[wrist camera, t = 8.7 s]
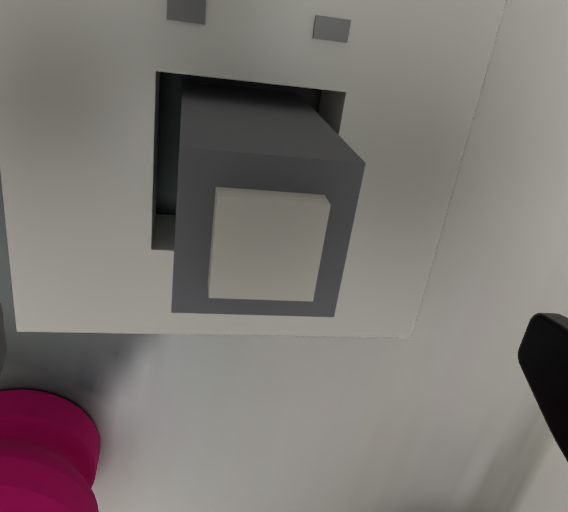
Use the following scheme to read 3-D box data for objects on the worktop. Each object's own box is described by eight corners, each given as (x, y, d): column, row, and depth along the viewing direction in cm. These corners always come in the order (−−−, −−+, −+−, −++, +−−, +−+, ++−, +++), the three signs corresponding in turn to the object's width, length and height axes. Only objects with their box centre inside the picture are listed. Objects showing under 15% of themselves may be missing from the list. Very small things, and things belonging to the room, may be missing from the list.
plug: (283, 201, 21) (339, 330, 13) (176, 193, 20) (170, 327, 12) (299, 94, 19) (374, 171, 11) (182, 81, 18) (179, 155, 11)
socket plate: (386, 297, 23) (412, 339, 21) (38, 286, 21) (16, 333, 18) (462, -11, 18) (510, -9, 15) (10, -82, 15) (-29, -95, 13)
